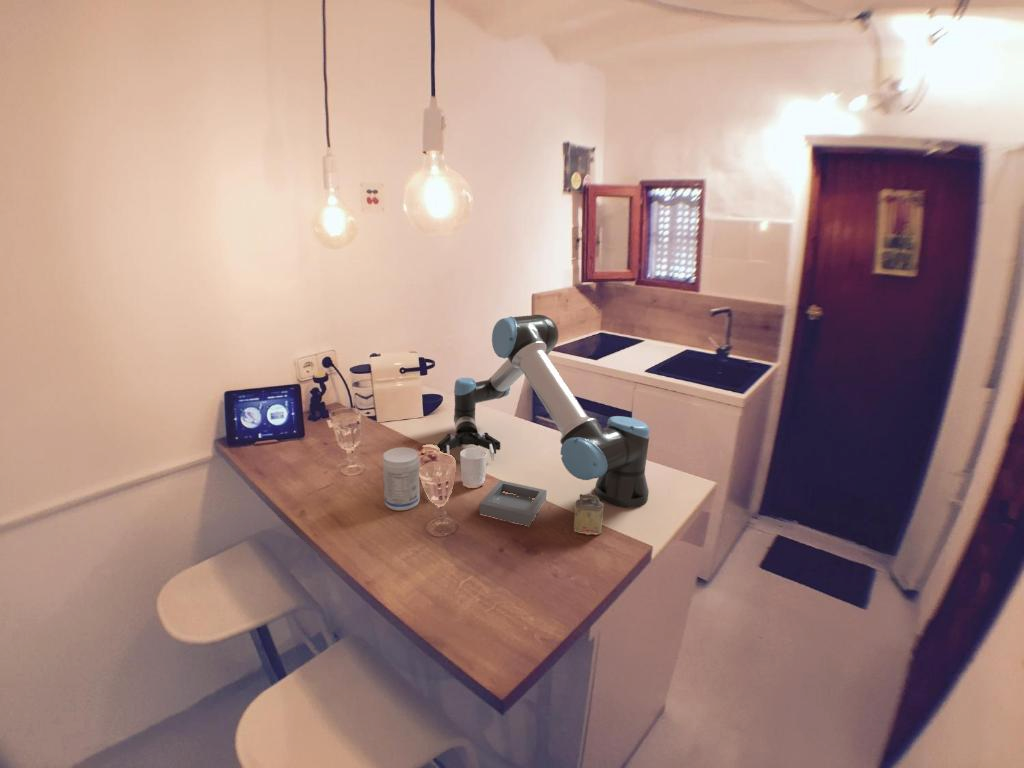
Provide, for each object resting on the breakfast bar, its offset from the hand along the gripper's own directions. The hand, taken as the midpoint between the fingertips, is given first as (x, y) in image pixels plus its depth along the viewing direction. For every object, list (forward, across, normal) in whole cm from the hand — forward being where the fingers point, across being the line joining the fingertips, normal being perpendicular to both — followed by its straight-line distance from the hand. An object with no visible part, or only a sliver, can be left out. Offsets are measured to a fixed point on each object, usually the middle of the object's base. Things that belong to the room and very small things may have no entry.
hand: (470, 457), depth 152 cm
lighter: (+34, -27, -6) cm, 44 cm away
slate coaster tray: (+21, -10, -6) cm, 24 cm away
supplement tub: (+15, +20, -6) cm, 26 cm away
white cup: (+6, 0, -6) cm, 8 cm away
